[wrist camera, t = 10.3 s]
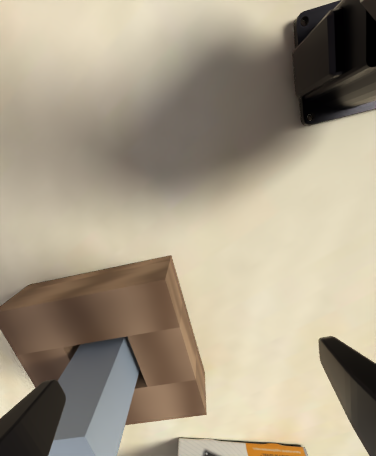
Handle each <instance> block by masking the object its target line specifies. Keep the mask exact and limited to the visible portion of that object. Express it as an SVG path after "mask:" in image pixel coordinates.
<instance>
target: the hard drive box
mask: <svg viewBox="0 0 376 456" xmlns="http://www.w3.org/2000/svg"><path fill="white" fill-rule="evenodd" d="M178 456H308V454H307V452H306V449H305V447H295V446H284V445H280V444H276V443H267V444H255V443H242V442H229V441H218V440H215V439H189V438H179V441H178Z"/></svg>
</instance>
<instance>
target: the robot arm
mask: <svg viewBox="0 0 376 456" xmlns="http://www.w3.org/2000/svg"><path fill="white" fill-rule="evenodd" d="M301 20H304V21H305V23H306V26H302V25H301V23H300V22H301ZM294 39H295V50H294V52H293V67H294V79H295V91H296V95H297V96H298V97H299V102H300V115H301V122H302V124H303V125H305V126H309V125H313V124H317V123H321V122H325V121H329V120H332V119H336V118H340V117H344V116H348V115H352V114H356V113H360V112H364V111H368V110H372V109H376V0H340V1H336V2H333V3H330V4H327V5H323V6H320V7H317V8H314V9H310V10H307V11H304V12H302V13H301V14H300V15H299V16H298V17H297V19H296V20H295V22H294ZM308 114H310V115H311V116H312V119H311V121H309V120H308V119H307V116H308ZM319 354H320V361H321V364H322V366H323V368H324V370H325V372H326V374H327V376H328V378H329V380H330V382H331V384H332V387H333V389H334V391H335V393H336V395H337V397H338V399H339V401H340V403H341V405H342V407H343V409H344V411H345V413H346V415H347V417H348V419H349V421H350V423H351V425H352V427H353V428H354V430H355V432H356V434H357V435H358V437H359V439H360V440H361V442H362V444H363V445H364V447H365V449H366V450H367V452H368V454H369V455H370V456H376V363H374V362H372V361H371V360H369V359H368V358H366V357H365V356H363V355H362V354H360V353H358V352H357V351H355V350H354V349H352V348H351V347H349V346H348V345H346V344H345V343H343V342H341V341H340V340H338V339H337V338H335V337H333V336H329V337H322V338H320V339H319ZM65 402H66V395H65V393H64V391H63V389H62V387H61V386H60V384H59V382H58V381H57V380H56V379H53V380H46V381H44V382H42V383H41V384H40V385H39V386H37V387H36V388H35V389H34V390H33V391H32V392H31V393H29V394H28V395H27V396H26V397H25V398H24V399H22V400H21V401H20V402H19V403H18V404H17V405H16V406H14V407H13V408H12V409H11V410H10V411H9V412H7V413H6V414H5V415H4V416H3V417H2V418H1V419H0V456H48V455H49V452H50V449H51V446H52V443H53V440H54V437H55V434H56V431H57V427H58V424H59V421H60V418H61V415H62V412H63V409H64V406H65Z"/></svg>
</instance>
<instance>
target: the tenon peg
mask: <svg viewBox="0 0 376 456" xmlns="http://www.w3.org/2000/svg"><path fill="white" fill-rule="evenodd" d="M139 370H140V367H139V364H138V362H137V359H136V357H135V354H134V352H133V349H132V347H131V344H130V342H129V339H128V337H127V336H126V337H120V338H115V339H109V340H103V341H97V342H91V343H85V344H80V346H79V347H78V349H77V351H76V352H75V354H74V355H73V357H72V359H71V360H70V362H69V363H68V365H67V367H66V368H65V370H64V372H63V373H62V375H61V376H60V378H59V380H58V382H59V384H60V386H61V387H62V389H63V391H64V393H65V395H66V402H65V406H64V409H63V412H62V415H61V418H60V421H59V424H58V427H57V431H56V434H55V437H54V440H53V443H52V446H51V449H50V452H49V455H48V456H117V453H118V449H119V446H120V442H121V438H122V434H123V430H124V427H125V423H126V419H127V415H128V412H129V408H130V404H131V400H132V397H133V393H134V389H135V385H136V382H137V378H138V374H139Z"/></svg>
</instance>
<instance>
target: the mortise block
mask: <svg viewBox="0 0 376 456" xmlns="http://www.w3.org/2000/svg"><path fill="white" fill-rule="evenodd" d="M0 329H1V331H2V333H3V334H4V336H5V338H6V339H7V341H8V343H9V344H10V346H11V347H12V349H13V351H14V352H15V354H16V356H17V357H18V359H19V361H20V362H21V364H22V366H23V367H24V369H25V371H26V372H27V374H28V376H29V377H30V379H31V381H32V382H33V384H34V386H35V387H37V386H39V385H40V384H41V383H42V382H44V381H46V380H53V379H56V380H57V381H58V380H59V378H60V376H61V375H62V373H63V372H64V370H65V368H66V367H67V365H68V363H69V362H70V360H71V359H72V357H73V355H74V354H75V352H76V351H77V349H78V347H79V346H80V344H85V343H91V342H97V341H103V340H109V339H115V338H120V337H126V336H127V337H128V339H129V342H130V344H131V347H132V349H133V352H134V354H135V357H136V359H137V362H138V364H139V367H140V370H139V374H138V378H137V382H136V385H135V389H134V393H133V397H132V400H131V404H130V408H129V412H128V415H127V419H126V423H125V425H129V424H137V423H145V422H153V421H161V420H169V419H176V418H184V417H192V416H200V415H206V391H205V372H204V368H203V365H202V361H201V358H200V354H199V351H198V347H197V344H196V340H195V337H194V333H193V330H192V326H191V323H190V319H189V316H188V312H187V309H186V305H185V302H184V298H183V295H182V291H181V288H180V284H179V281H178V277H177V274H176V270H175V267H174V263H173V260H172V256H166V257H161V258H157V259H152V260H147V261H142V262H137V263H132V264H128V265H123V266H118V267H113V268H108V269H103V270H98V271H94V272H89V273H84V274H79V275H74V276H69V277H65V278H60V279H55V280H50V281H45V282H40V283H36V284H31V285H28V286H27V287H25V288H24V289H23V290H21V291H20V292H19V293H17V294H16V295H15V296H13V297H12V298H11V299H9V300H8V301H7V302H6V303H4V304H3V305H2V306H0Z"/></svg>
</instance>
